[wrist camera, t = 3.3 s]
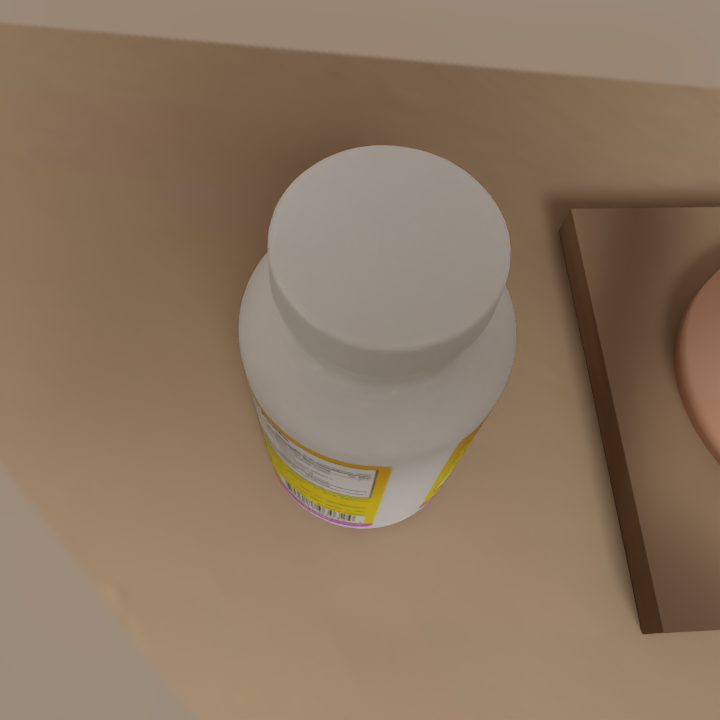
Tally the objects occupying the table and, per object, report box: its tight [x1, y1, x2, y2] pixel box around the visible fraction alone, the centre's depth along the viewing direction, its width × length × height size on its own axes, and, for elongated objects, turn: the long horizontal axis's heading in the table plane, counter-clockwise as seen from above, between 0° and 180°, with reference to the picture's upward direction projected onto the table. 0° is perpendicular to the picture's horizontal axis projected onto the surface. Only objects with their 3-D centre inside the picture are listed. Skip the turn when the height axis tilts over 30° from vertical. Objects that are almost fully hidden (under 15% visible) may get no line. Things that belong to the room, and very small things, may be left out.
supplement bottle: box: [238, 145, 516, 529], centre depth 19 cm, size 7×7×13 cm
